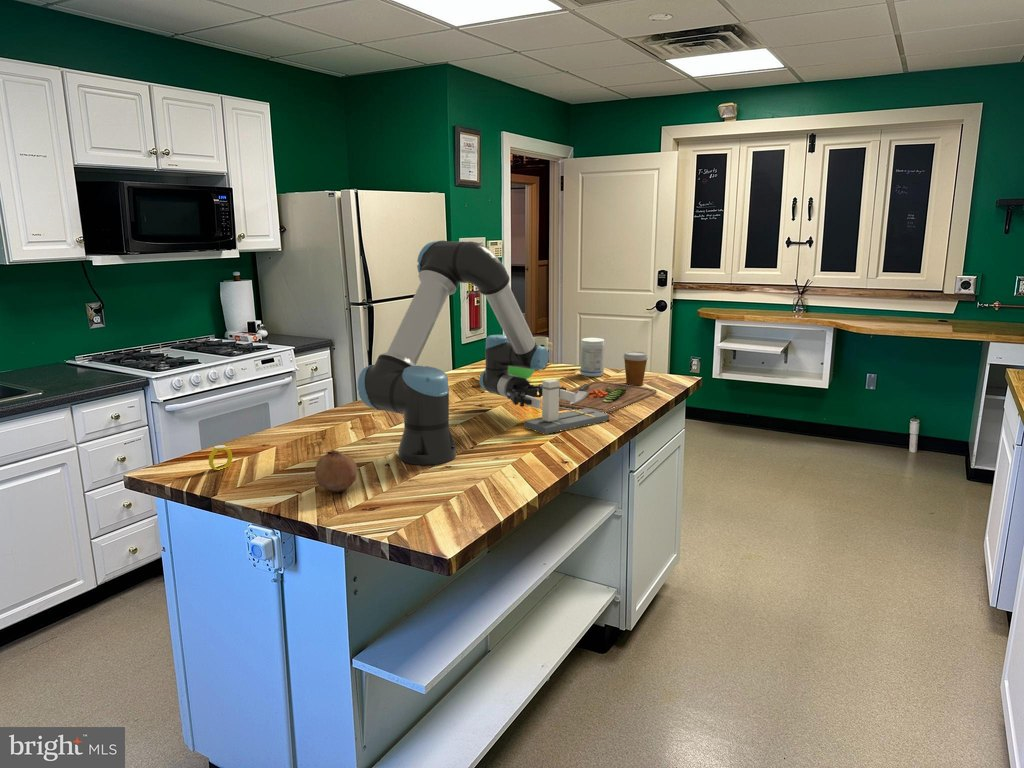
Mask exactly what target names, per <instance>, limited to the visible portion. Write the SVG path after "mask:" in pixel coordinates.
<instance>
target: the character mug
mask: <svg viewBox="0 0 1024 768" xmlns="http://www.w3.org/2000/svg"><path fill="white" fill-rule="evenodd" d="M533 338H534V340H535V342H536V344H537V346H542V347H545V348H547V350H548V351H553V349H554V347H553V345H554V344H553V342H550V341H549V340H550V339H549V337H547V336H533ZM549 345H550V346H549ZM546 367H548V364H547V365H546Z"/></svg>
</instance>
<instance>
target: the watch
mask: <svg viewBox="0 0 1024 768" xmlns="http://www.w3.org/2000/svg"><path fill="white" fill-rule="evenodd" d="M218 451H219V452H220V451H221V452H222V451H226V453H227V460H226V463H225V464H224V466H223V465H222V466H220V467H216V466H215V465H214V464H215V463H214V458H215V455H216V454H217V453H218ZM232 461H233V454H232V451H231V450H230V449H229V448H228V447H227V446H226V445H224V444H222V445H221V444H220V445H215V446H213V450H212V451H211V452H210V453H209V456H208V464H209V466H210V468H211V469H212V470H214V471H216V470H220V469H223V468H226V467H228V468H229V467H230V465H231V464H232ZM226 469H227V468H226ZM223 470H224V469H223ZM220 471H221V470H220Z"/></svg>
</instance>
